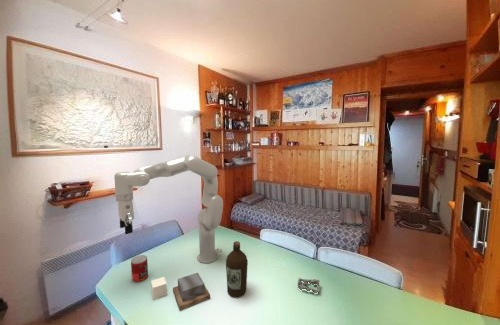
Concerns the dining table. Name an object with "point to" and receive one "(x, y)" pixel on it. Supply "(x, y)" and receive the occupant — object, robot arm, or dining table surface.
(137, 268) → the canned food
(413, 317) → the dining table surface
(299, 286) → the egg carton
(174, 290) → the pedestal
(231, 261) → the olive oil
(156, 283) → the cream cube
